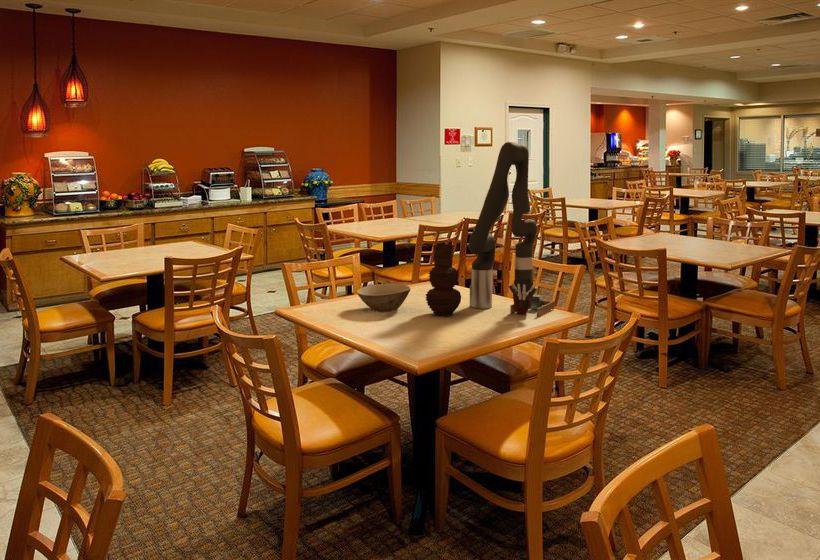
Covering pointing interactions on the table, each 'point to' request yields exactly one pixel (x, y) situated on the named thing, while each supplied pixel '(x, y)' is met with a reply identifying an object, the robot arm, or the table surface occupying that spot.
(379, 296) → the bowl
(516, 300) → the mug
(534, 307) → the tea tin
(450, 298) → the vase
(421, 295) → the table surface
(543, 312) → the caddy
